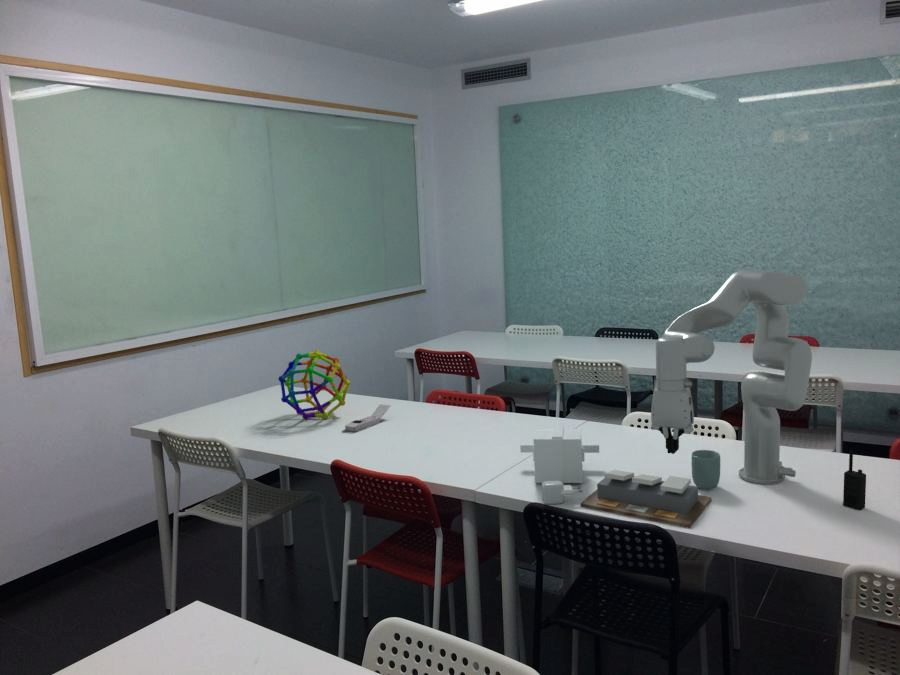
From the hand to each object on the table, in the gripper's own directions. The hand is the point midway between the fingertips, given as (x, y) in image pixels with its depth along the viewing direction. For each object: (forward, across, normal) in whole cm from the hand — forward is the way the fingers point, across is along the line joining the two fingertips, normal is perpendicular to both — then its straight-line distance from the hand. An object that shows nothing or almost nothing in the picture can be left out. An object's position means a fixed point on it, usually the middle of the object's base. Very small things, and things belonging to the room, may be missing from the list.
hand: (672, 451), depth 188 cm
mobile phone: (+17, +134, -29) cm, 138 cm away
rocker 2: (+11, +8, -3) cm, 14 cm away
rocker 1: (+11, +16, -3) cm, 19 cm away
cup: (+17, -3, -21) cm, 27 cm away
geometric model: (+16, +163, -29) cm, 166 cm away
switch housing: (+17, +8, -3) cm, 19 cm away
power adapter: (+17, +29, +7) cm, 34 cm away
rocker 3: (+11, 0, -3) cm, 11 cm away
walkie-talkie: (+17, -40, -24) cm, 49 cm away
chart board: (+17, +8, -2) cm, 19 cm away
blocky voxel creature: (+17, +41, -15) cm, 47 cm away
